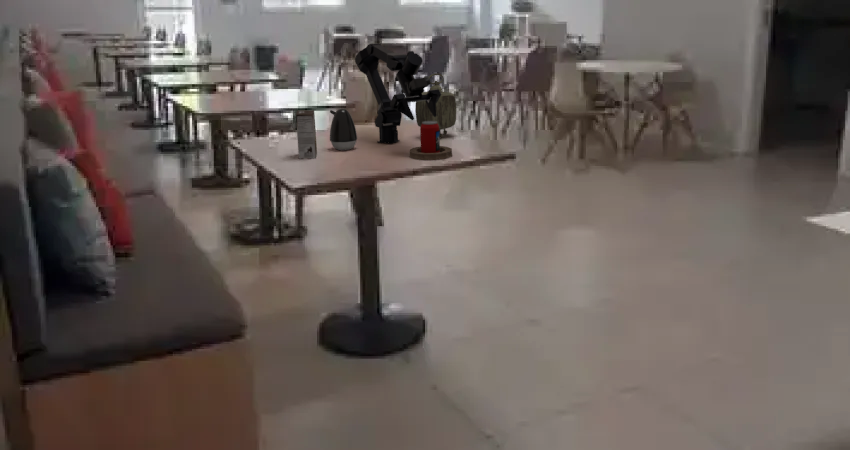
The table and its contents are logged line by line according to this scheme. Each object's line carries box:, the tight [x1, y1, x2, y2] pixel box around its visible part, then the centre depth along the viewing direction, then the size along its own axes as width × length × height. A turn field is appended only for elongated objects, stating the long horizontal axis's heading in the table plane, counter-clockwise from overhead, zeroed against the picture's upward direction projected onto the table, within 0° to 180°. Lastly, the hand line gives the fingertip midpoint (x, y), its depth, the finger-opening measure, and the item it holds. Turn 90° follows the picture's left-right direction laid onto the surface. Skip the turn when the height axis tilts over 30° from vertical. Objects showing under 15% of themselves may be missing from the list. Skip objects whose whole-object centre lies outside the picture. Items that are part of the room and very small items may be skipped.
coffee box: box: [295, 109, 318, 160], centre depth 296 cm, size 9×6×16 cm
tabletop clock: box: [415, 72, 457, 138], centre depth 323 cm, size 14×9×25 cm, turn 121°
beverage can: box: [419, 121, 441, 153], centre depth 292 cm, size 7×7×12 cm
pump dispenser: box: [329, 108, 358, 151], centre depth 307 cm, size 10×10×15 cm
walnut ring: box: [409, 145, 453, 161], centre depth 293 cm, size 15×15×2 cm
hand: (424, 117), depth 293 cm, fingers open, 9 cm apart
